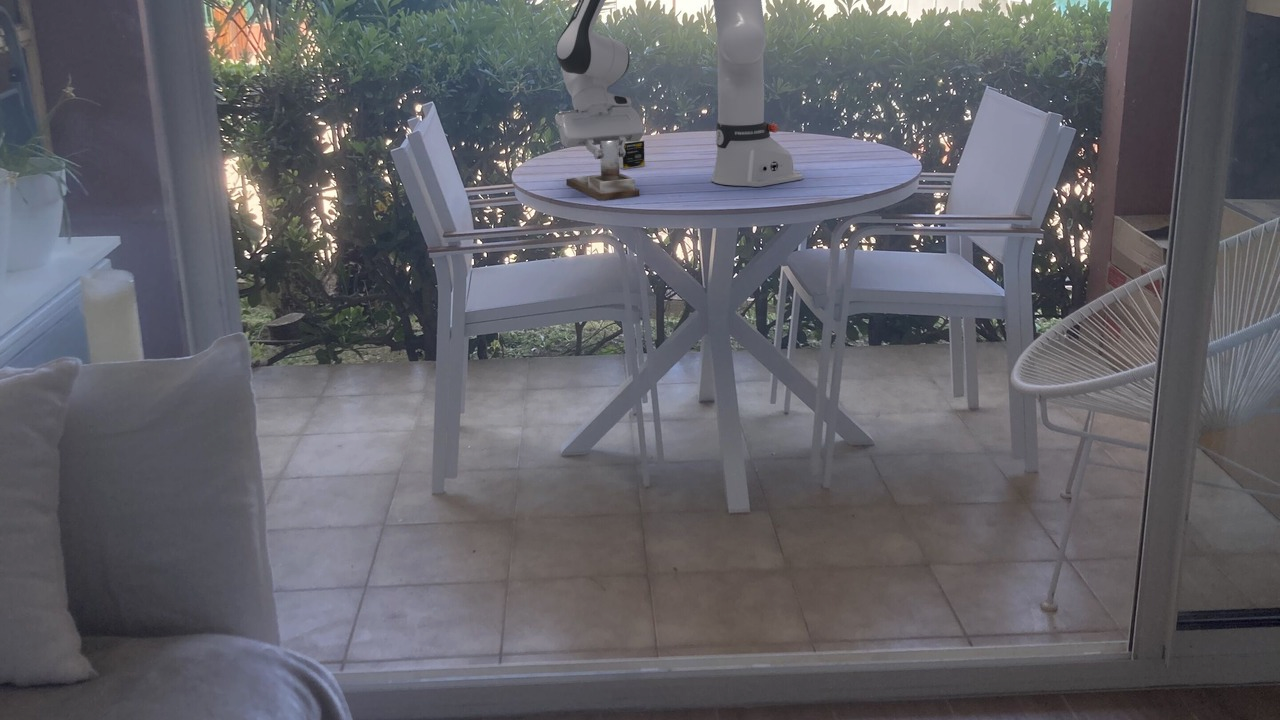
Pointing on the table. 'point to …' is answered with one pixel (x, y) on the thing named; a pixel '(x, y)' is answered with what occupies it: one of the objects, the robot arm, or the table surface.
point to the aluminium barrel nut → (609, 157)
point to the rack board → (605, 186)
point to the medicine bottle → (633, 155)
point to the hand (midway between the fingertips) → (610, 156)
